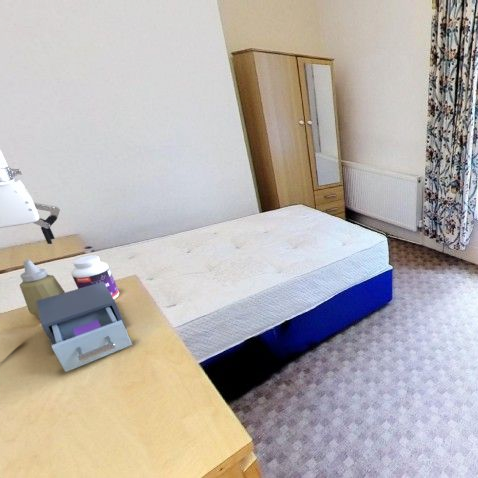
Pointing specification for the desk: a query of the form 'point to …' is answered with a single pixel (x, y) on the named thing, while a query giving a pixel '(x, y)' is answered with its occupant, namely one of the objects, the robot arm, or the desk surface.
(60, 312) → the dark grey drawer cabinet
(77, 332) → the block
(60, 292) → the squeeze bottle
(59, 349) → the pull-out drawer
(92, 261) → the pill bottle
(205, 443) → the desk surface
